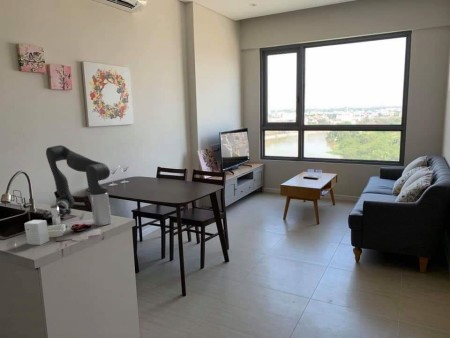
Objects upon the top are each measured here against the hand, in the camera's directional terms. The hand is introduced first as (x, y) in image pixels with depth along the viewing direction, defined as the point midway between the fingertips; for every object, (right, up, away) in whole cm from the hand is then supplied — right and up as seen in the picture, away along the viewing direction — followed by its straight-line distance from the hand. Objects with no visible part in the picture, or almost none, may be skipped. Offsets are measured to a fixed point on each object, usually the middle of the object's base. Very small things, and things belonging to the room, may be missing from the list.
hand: (54, 215), depth 185 cm
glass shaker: (0, -6, +3) cm, 7 cm away
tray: (+3, -8, -9) cm, 13 cm away
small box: (+3, -10, -21) cm, 23 cm away
